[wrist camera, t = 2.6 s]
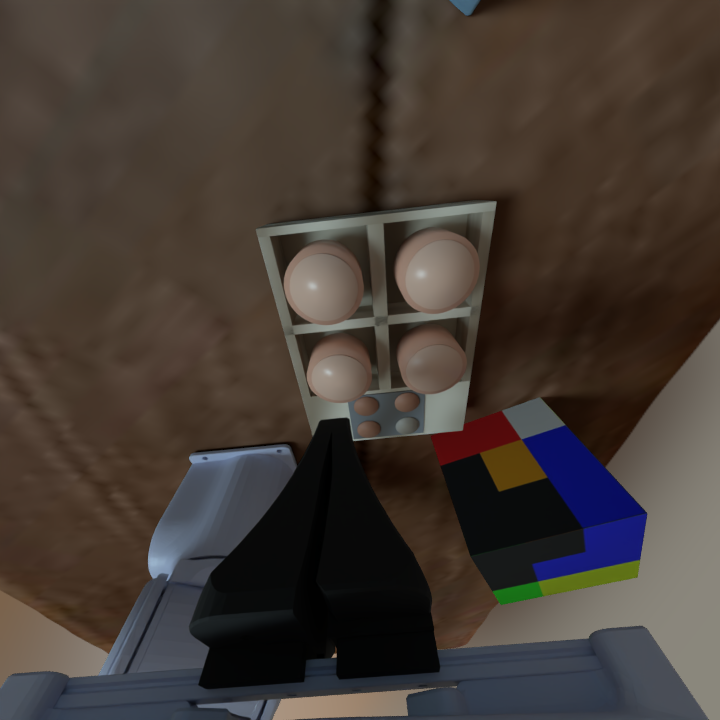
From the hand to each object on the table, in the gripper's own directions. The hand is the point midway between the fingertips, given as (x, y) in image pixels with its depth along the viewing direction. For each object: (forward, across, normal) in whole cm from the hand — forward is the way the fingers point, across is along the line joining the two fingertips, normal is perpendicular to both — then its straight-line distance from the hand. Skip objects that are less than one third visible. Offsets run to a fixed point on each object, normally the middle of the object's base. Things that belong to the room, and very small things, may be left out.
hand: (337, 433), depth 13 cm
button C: (+7, 0, -6) cm, 9 cm away
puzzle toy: (+9, -14, +14) cm, 21 cm away
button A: (+7, 0, 0) cm, 7 cm away
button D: (+7, -6, -6) cm, 10 cm away
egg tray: (+8, -3, 0) cm, 9 cm away
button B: (+7, -6, 0) cm, 9 cm away
